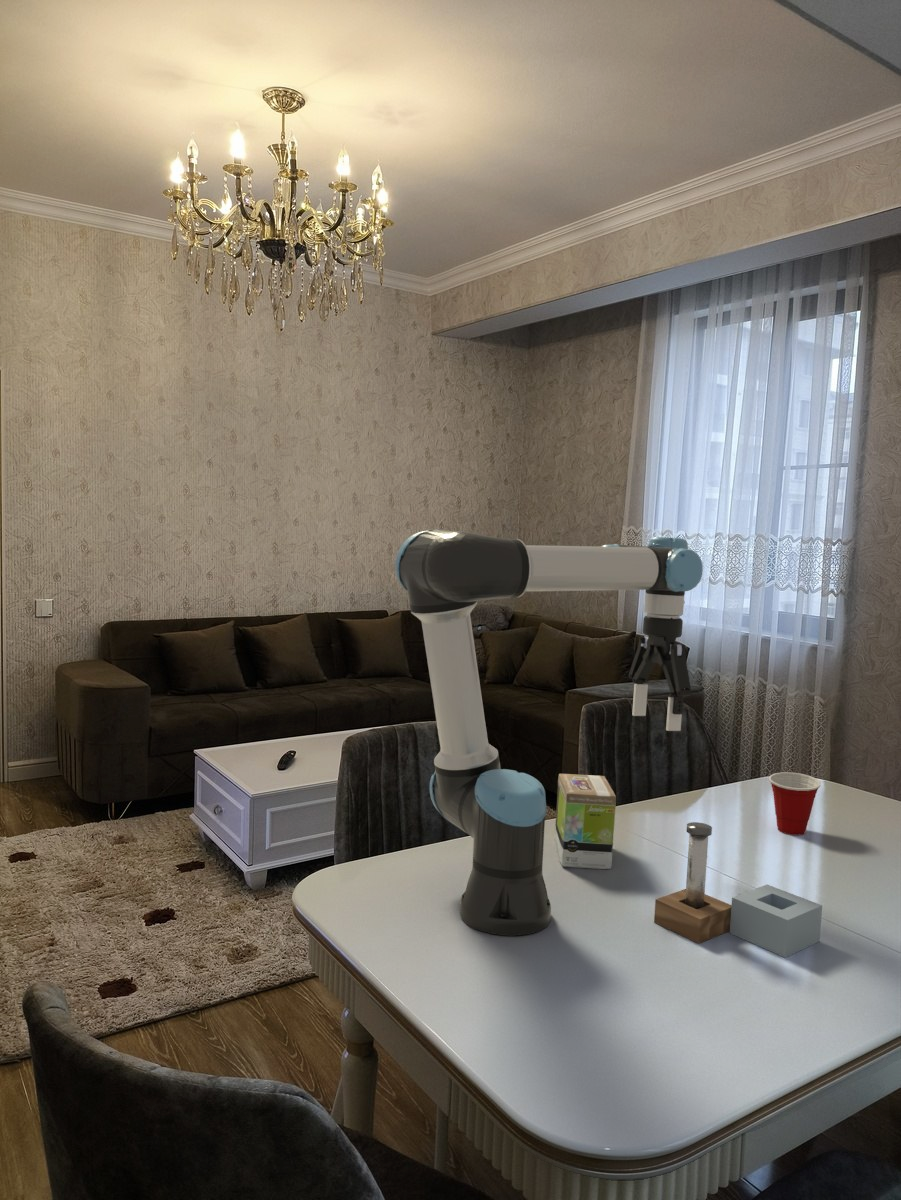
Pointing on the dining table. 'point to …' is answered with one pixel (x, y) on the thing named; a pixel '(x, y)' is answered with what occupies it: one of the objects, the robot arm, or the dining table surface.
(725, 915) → the mount block
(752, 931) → the socket block
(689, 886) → the lock pin
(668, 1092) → the dining table surface
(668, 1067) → the dining table surface
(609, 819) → the tea box
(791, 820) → the plastic cup
